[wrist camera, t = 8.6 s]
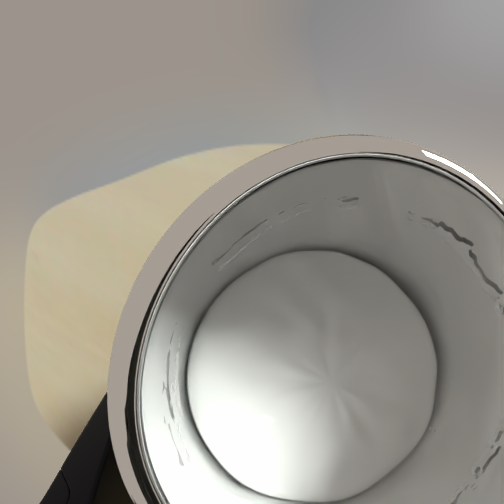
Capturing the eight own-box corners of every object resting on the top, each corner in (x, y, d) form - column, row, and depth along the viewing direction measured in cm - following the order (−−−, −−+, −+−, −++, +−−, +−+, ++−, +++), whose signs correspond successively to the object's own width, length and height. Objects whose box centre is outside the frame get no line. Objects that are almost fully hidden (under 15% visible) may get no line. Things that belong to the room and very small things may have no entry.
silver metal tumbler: (245, 449, 15) (259, 658, 1) (196, 343, 17) (30, 229, 3) (353, 397, 16) (588, 413, 2) (304, 296, 18) (447, 99, 4)
